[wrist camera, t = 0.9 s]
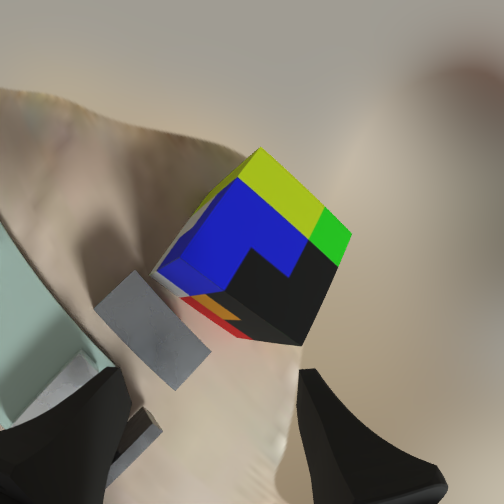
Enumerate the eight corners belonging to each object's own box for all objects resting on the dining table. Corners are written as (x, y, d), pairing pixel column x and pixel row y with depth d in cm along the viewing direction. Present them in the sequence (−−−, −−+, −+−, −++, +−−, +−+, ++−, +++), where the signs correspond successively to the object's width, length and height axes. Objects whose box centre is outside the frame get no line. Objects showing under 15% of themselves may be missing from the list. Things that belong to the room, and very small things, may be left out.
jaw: (82, 482, 18) (84, 508, 15) (11, 422, 17) (-1, 440, 13) (151, 413, 23) (163, 431, 19) (81, 347, 21) (78, 355, 18)
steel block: (159, 376, 25) (175, 391, 20) (93, 308, 23) (93, 308, 19) (189, 344, 27) (211, 351, 22) (126, 277, 25) (135, 269, 21)
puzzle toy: (148, 275, 26) (179, 256, 18) (209, 192, 30) (260, 146, 22) (236, 337, 29) (301, 346, 20) (283, 254, 33) (352, 233, 25)
